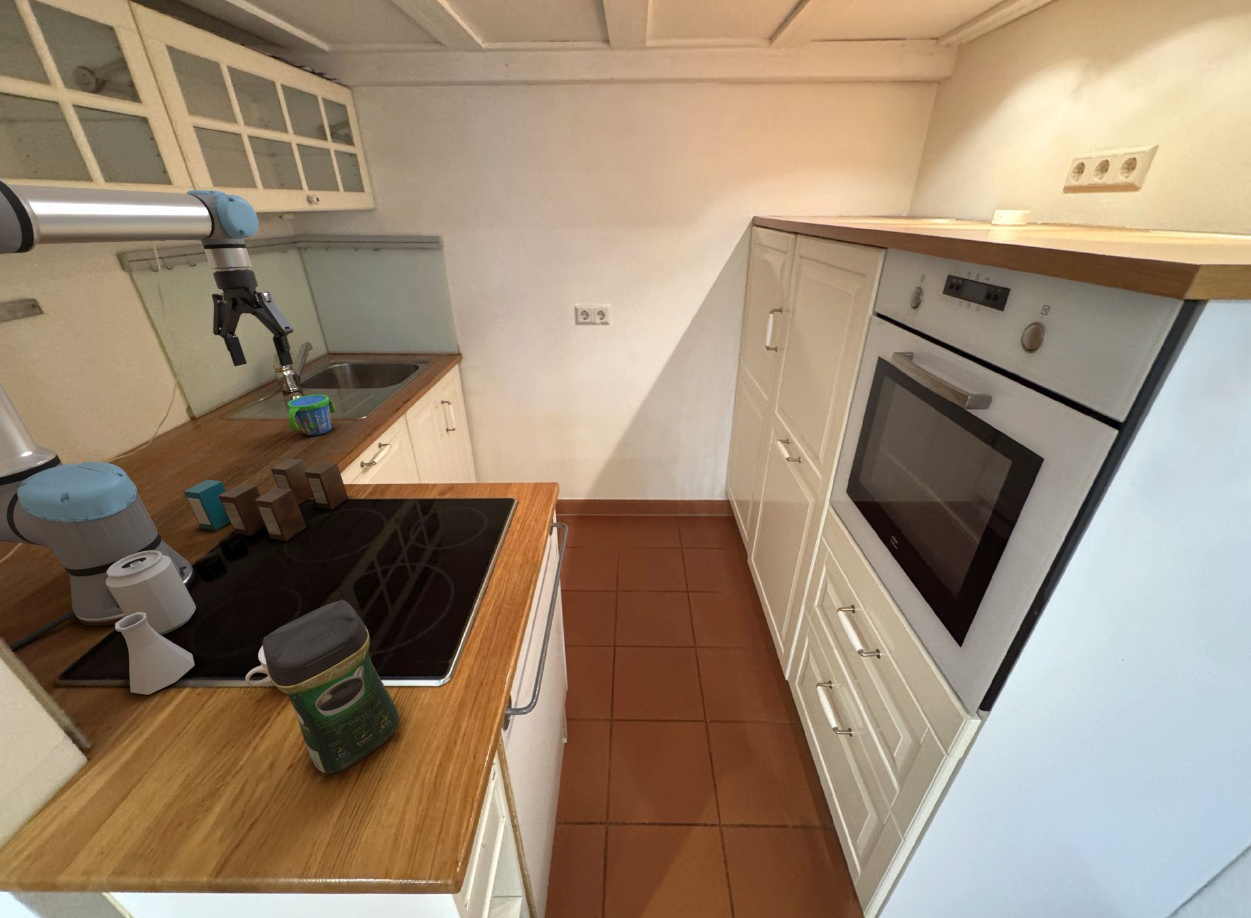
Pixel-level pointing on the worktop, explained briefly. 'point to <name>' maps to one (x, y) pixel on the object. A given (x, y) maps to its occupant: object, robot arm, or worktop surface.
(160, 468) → the worktop surface
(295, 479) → the brown rectangular box
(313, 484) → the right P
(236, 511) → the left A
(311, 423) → the snack cup
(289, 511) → the brown wooden block
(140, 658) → the flask
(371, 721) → the coffee jar
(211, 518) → the teal rectangular block
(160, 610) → the can
